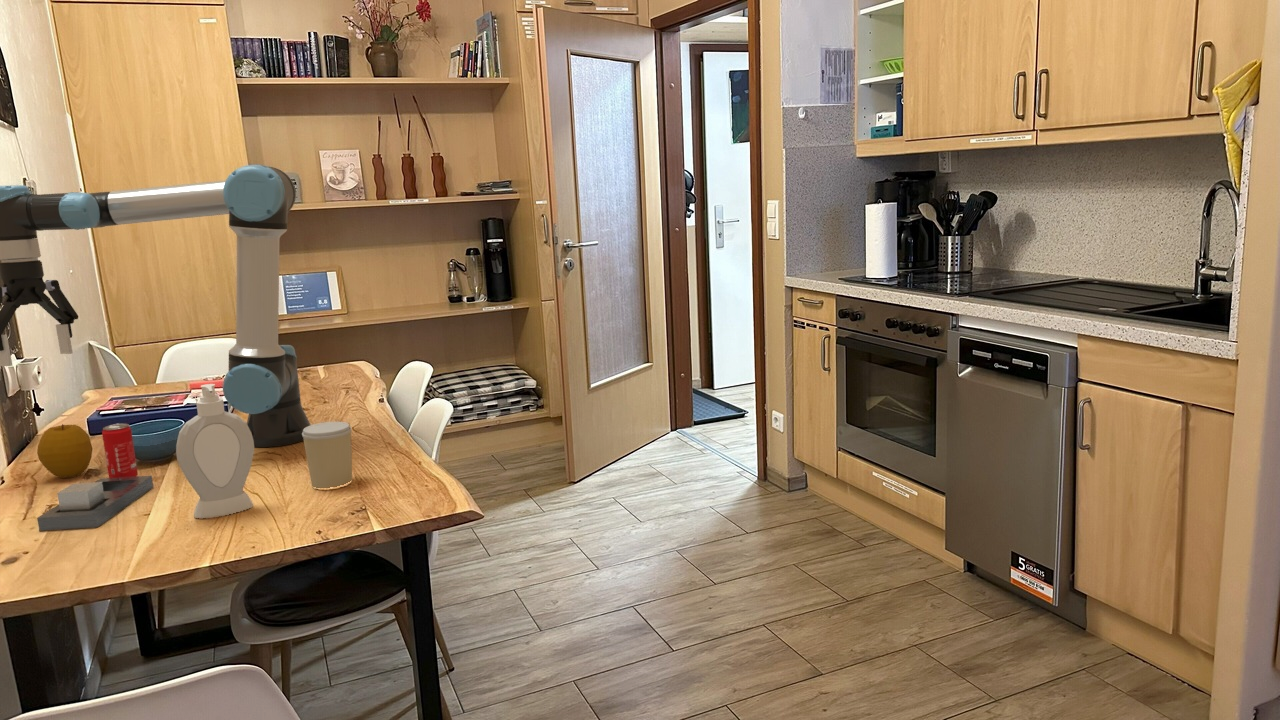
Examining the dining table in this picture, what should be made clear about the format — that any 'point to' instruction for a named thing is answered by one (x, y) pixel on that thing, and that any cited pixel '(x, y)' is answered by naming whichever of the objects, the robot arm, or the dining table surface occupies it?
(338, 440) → the coffee cup
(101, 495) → the grey flat frame
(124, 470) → the beverage can
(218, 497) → the soap bottle
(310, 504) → the dining table surface
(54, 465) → the apple
